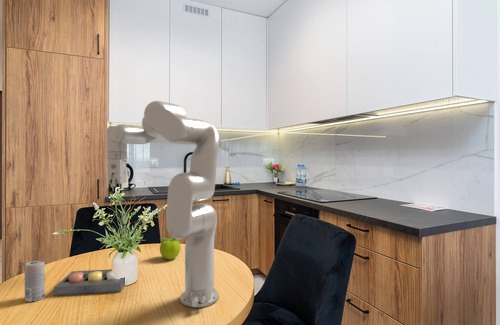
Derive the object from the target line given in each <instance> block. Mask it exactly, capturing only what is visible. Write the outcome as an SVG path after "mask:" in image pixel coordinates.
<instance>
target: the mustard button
mask: <svg viewBox="0 0 500 325" xmlns="http://www.w3.org/2000/svg"><path fill="white" fill-rule="evenodd" d="M101 279H102V272H100V271H96V272H91V273H89V274H88V281H96V280H101Z"/></svg>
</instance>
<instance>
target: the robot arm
mask: <svg viewBox="0 0 500 325" xmlns="http://www.w3.org/2000/svg"><path fill="white" fill-rule="evenodd" d="M160 136H161V137H163V138H164V139H165V140H166V141H168V142H170V143H172V144H177V145H182V144H183V145H195V146H196V147H194V148H195V149H194V150H193V151H192V154H191V156H190V163H189V164H190V165H189V172H180V173H178V174H176V175H174V176H173V177H172V179H170V182H169V185H168V191H167V198H166V199H167V201H166V218H165V220H166V224H165V226H166V230H167V232H168V234H169V236H170V237H171V238H172V239H173V238H175V239H176V240H183V239H186V241H185V247H184V291H182V293H180V297H179V300H180V303H181V304H182V305H184V306H186V307H188V308H204V307H208V306H211V305H213V304H214V303H216V302H217V301H218V300H219V292H218V290H216V289H215V283H214V282H215V235H216V229H217V223H218V215H217V211H216V209H215V208H214V207H213V206H212V205H210V204H208V203H197V204H196V202H203V201H206V200H209V199H211V198H212V197H213V196H214V194H215V188H216V177H217V162H218V161H217V160H218V154H219V147H220V135H219V132H218V130H217V128H216V127H215V126H214V125H213V124H212V123H210V122H208V121H205V120H202V119H197V118H196V119H195V118H189V117H187V113H186V111H185V110H184V108H183V107H182V106H180V105H178V104H176V103H170V102H165V101H161V100H154V101H151V102H149V103H148V104H147V105H146V107H145V108H144V112H143V118H142V120H141V125H133V124H117V125H112V126H111V125H110V126H108V127H107V128H106V158H107V160H106V161H108V184H110V185H111V188H112V195H113V194H114V193H115V188H116V187H120V188H122V190H123V184H126V183H127V181H128V174H127V173H128V172H127V162H126V161H127V160H128V145H145V144H149V143H152V142H154V141H157V140H158V139H159V137H160ZM122 190H121V191H120V193H122V194H123V191H122ZM193 203H195V204H193Z"/></svg>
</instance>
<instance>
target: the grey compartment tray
mask: <svg viewBox="0 0 500 325" xmlns="http://www.w3.org/2000/svg"><path fill="white" fill-rule="evenodd" d="M96 271H100V272H102V279H101V280H96V281H88V274H89V273H91V272H96ZM110 271H112V269H99V270H98V269H94V270H90V269H89V270H74V271H73V270H72V271H71V272H69V273H68V274H67V275H66V276H65V277H64V278H63V279H61V280H60V281H59V282H58V283H57V284H56V285H55V286H53V296H54V295H64V296H77V295H78V294H79V295H91V294H107V293H121V292H122V290H123V289H124V287H125V285H126V284H125V277H124V278H120V279H113V280H107V273H108V272H110ZM76 272H82V273H83V280H82V281H78V282H69V275H70V274H72V273H76Z"/></svg>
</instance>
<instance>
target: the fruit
mask: <svg viewBox="0 0 500 325" xmlns="http://www.w3.org/2000/svg"><path fill="white" fill-rule="evenodd" d="M160 240H161V243H160V246H159V253H160V255H161V256H162V257H163V259H165V260H169V261H170V260H174V259H176V258H177V257H178V255H179V254H180V251H181V243H180V242H179V241H178V239H175V238H173V237H172V236H170V237H169V238H167V237H161V238H160Z"/></svg>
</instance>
